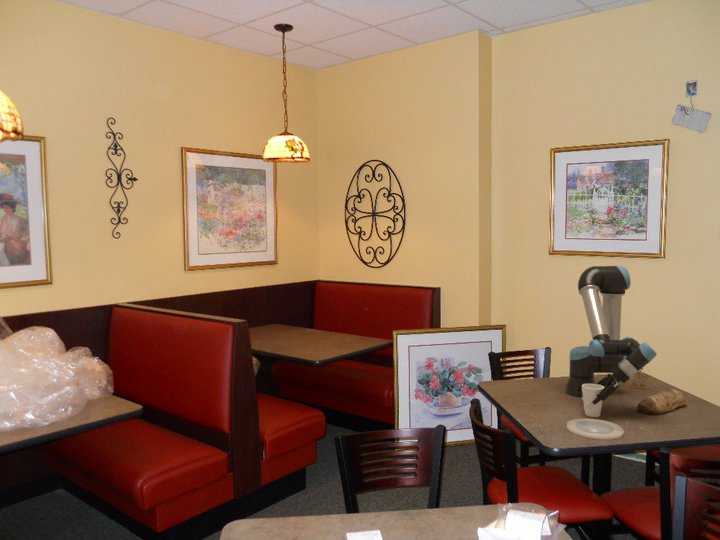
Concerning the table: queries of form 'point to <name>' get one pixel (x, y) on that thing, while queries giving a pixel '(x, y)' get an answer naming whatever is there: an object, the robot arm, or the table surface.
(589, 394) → the foam cup
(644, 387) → the gingerbread man figurine
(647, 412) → the bread loaf
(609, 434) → the plate
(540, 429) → the table surface
